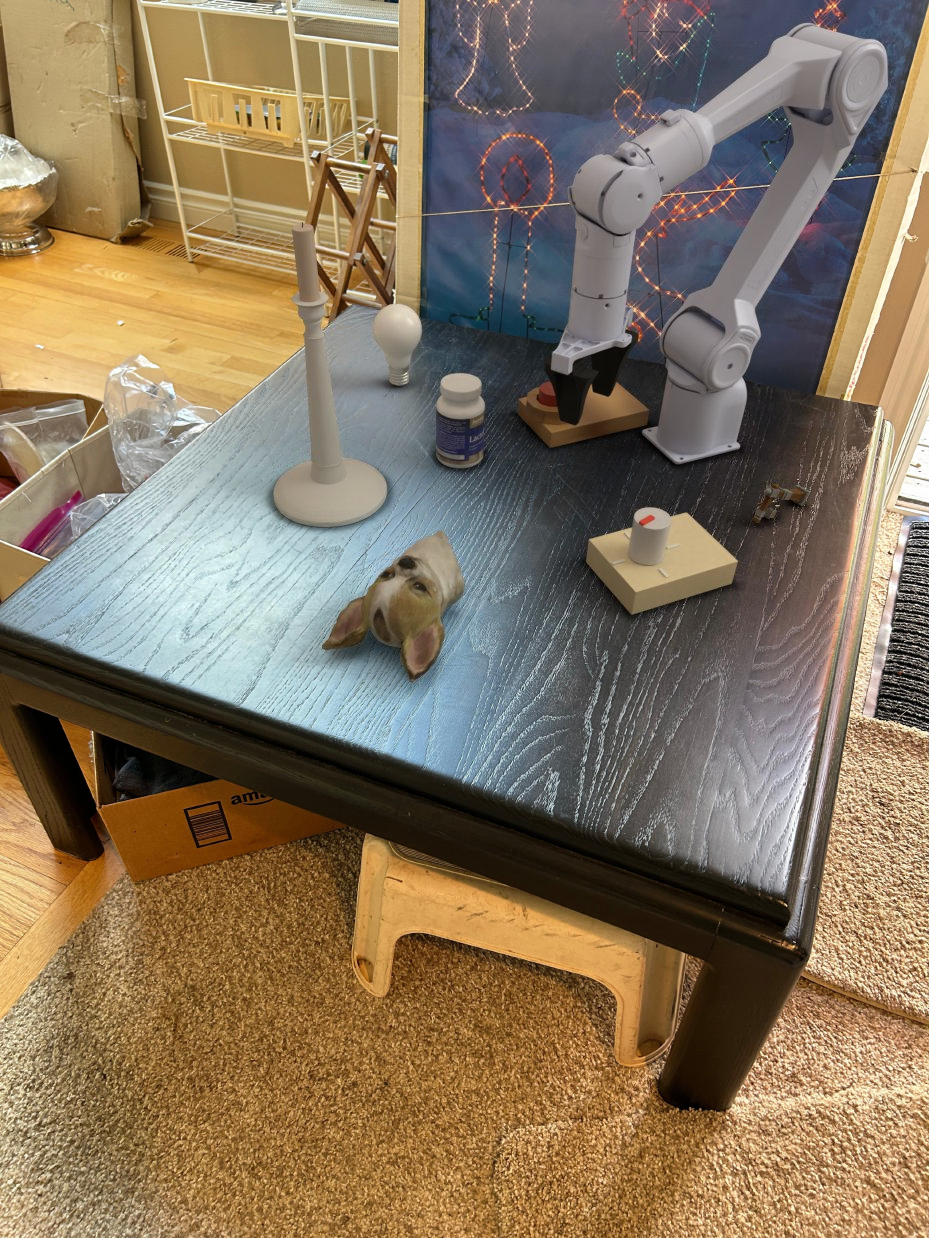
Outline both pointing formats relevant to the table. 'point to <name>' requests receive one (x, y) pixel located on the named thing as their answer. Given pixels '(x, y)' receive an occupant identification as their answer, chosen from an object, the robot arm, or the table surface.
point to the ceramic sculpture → (406, 605)
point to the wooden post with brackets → (774, 491)
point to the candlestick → (323, 423)
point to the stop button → (547, 395)
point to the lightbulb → (397, 339)
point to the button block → (584, 416)
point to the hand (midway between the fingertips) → (585, 407)
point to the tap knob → (649, 536)
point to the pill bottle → (460, 421)
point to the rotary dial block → (662, 566)
